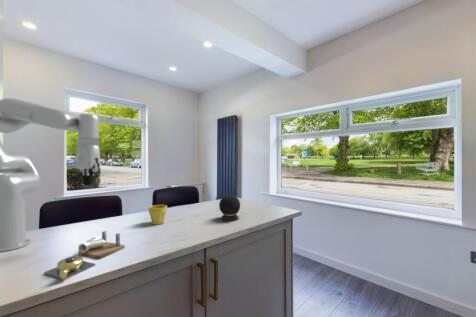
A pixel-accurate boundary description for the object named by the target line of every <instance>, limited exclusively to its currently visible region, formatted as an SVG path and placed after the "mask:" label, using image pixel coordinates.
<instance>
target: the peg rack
mask: <svg viewBox="0 0 476 317" xmlns="http://www.w3.org/2000/svg"><path fill="white" fill-rule="evenodd" d="M101 235H102V236H101V239H104V240H105V241H107V231H106V230H104V231H102V232H101ZM125 246H126V245H125V244H122V243H121V233H115V243H114V242H109V241H107V243H106V244H105V245H104V246H103V247H101V248H96V249H90V250H88V251H86V252H84V253H81V252H80V251H79V250H78V252H77V253H78V254H77V255H78V256H82V257H90V258H92V259H93V258H94V259H97V260H101V259H103V258H106V257H108V256H110V255H112V254H115V253H117V252H118V251H121V250H123V249H125Z"/></svg>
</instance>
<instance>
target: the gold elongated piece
mask: <svg viewBox="0 0 476 317" xmlns="http://www.w3.org/2000/svg"><path fill="white" fill-rule="evenodd" d="M83 261H84V256H82V255H77V256H69V257H66V258H63V259H61V260H59V261H58V262H57V263H56V267H57V271H58V272H60V279H59V280H60V281H65V280H67V279H68V278H67V275H68V273H69V272H70V271H74V270H77V269H79V268H80V267H82V266H83ZM66 278H67V279H66ZM64 279H65V280H64Z"/></svg>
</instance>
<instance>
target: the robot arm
mask: <svg viewBox="0 0 476 317" xmlns="http://www.w3.org/2000/svg"><path fill="white" fill-rule="evenodd" d="M30 124H34V125H40V126H43V127H49V128H51V129H56V130H62V131H66V132H67V131H68V132H74V133H77V134H78V135H77V136H78V137H77V147H76V152H75V153H76V154H75V164H74V166H75V168H76V169H78V171H80V172H82V176H83V186H91V185H94V176H95V173H97V172H99V168H100V167H101V152H100V118H99V116H98V115H96V114H92V113H91V114H90V113H82V114H79V115H78V114H73V113H70V112H67V111H64V110H63V111H62V110H58V109H55V108H51V107H46V106H44V105H41V104H39V103H34V102H33V103H32V102H29V101H24V100H20V99H17V98H16V99H15V98H11V97H10V98H2V99H0V133H4V134H10V133H15V132H17V131H19V130H20V129H23V128H24V127H26V126H28V125H30ZM41 186H42V179H41V176H40V173H39V172H38V170H37V169H36V167H35V165H34V163H33V161H32V160H31V158H30V157H29V156H28V155H26V154H25V153H22V152H17V151H8V150H7V149H6V148H5V146H4V145H3V143H2V141H1V140H0V253H1V252H8V251H12V250H18V249H20V248H24V247H25V246H26V247H27V246H28V245H29V244H31V239H30V238H27V237H26V236H27V229H26V228H27V224H26V223H27V220H26V219H27V218H26V217H27V215H26V213H27V212H26V210H27V208H26V201H25V199H24V197H23V196H22V194H27V193H28V194H29V193H31V192H36V191H37V190H39V189H40V188H41Z"/></svg>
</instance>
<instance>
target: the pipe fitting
mask: <svg viewBox="0 0 476 317" xmlns="http://www.w3.org/2000/svg"><path fill="white" fill-rule="evenodd" d="M107 242H108V241H107V240H106V241H105V240H104V239H102V238H100V237H99V236H98V235H96V236H94V237H92V238H90V239H88V240H86V241H84V242H82V243H80V244H78V249H77V250H78V251H80V252H81V253H84V252H86V251H88V250H90V249H96V248H101V247H103V246H104V245H105V244H106V243H107Z"/></svg>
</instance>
